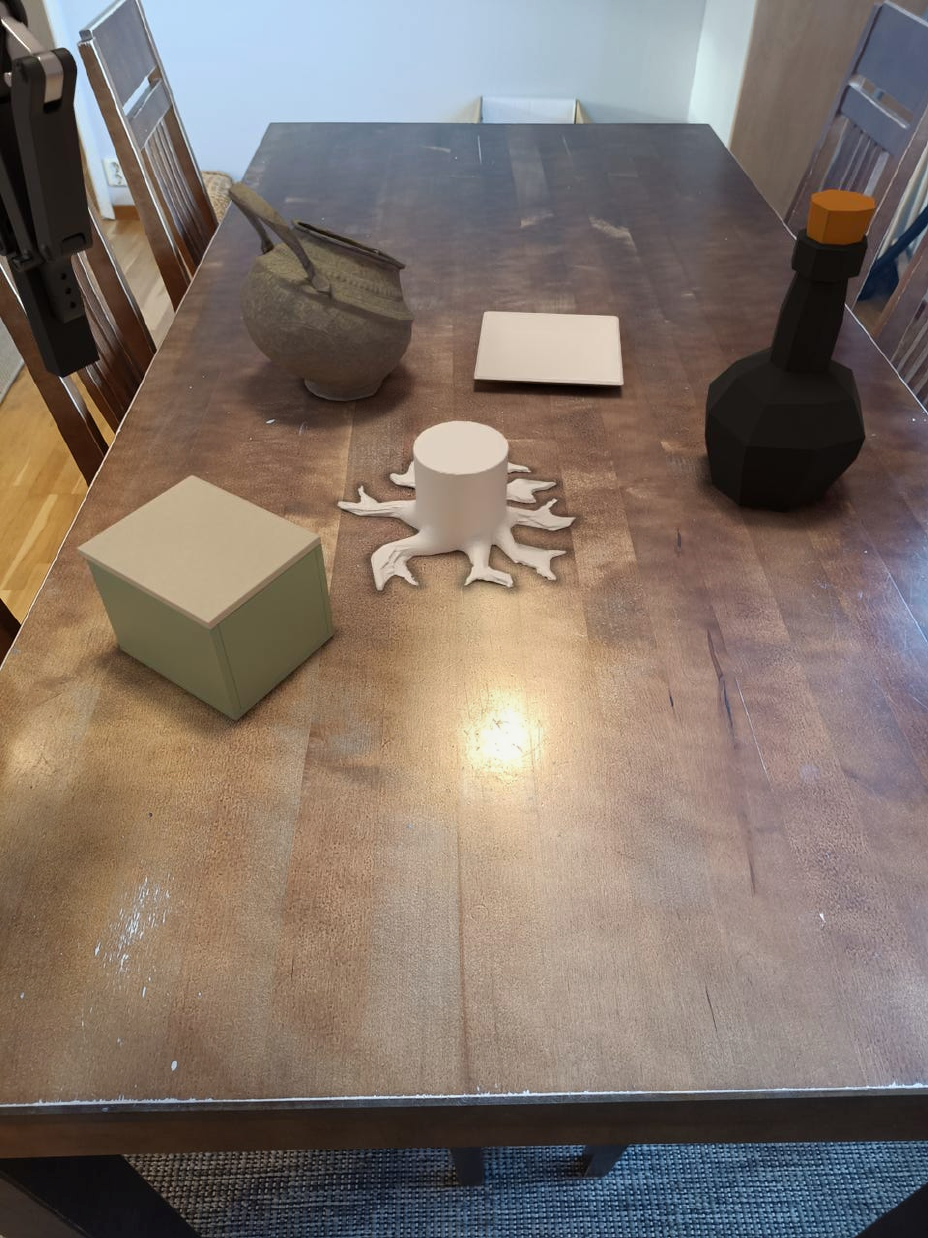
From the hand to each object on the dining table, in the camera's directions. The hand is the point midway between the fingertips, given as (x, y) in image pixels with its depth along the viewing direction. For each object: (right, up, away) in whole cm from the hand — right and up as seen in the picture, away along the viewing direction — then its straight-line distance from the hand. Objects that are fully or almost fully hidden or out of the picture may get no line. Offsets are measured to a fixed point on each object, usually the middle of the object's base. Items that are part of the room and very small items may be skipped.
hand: (73, 364), depth 53 cm
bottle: (+57, 0, +47) cm, 73 cm away
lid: (+1, -9, +21) cm, 23 cm away
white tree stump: (+22, -5, +42) cm, 48 cm away
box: (+2, -17, +29) cm, 34 cm away
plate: (+34, +20, +67) cm, 78 cm away
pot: (+7, +15, +62) cm, 64 cm away
